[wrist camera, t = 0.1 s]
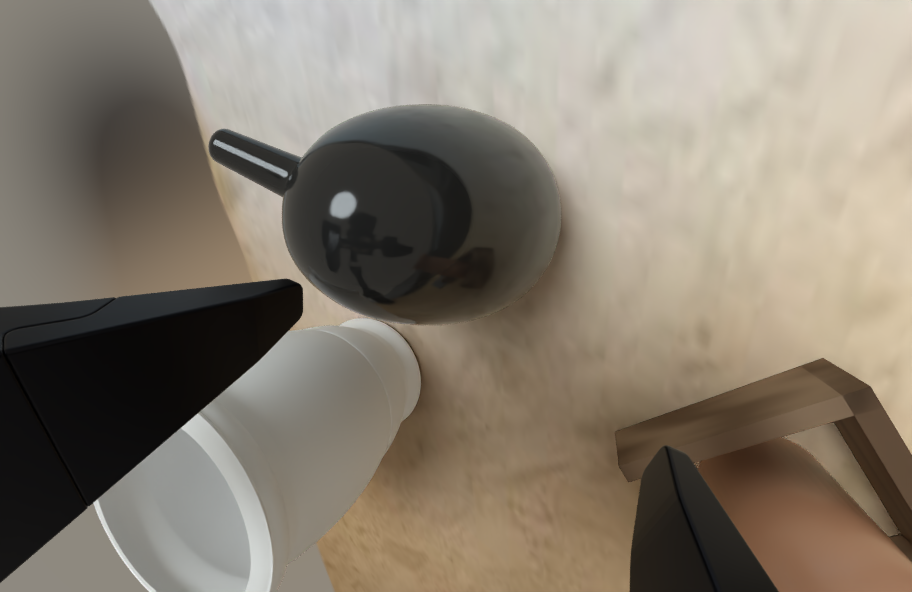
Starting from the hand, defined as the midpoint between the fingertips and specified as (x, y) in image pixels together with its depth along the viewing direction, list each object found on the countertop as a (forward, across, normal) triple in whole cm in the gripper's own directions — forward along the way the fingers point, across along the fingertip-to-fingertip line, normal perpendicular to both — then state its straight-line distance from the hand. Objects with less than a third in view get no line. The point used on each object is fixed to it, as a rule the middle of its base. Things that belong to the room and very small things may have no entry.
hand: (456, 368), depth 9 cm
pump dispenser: (+16, +5, +2) cm, 16 cm away
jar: (+12, +9, +15) cm, 21 cm away
